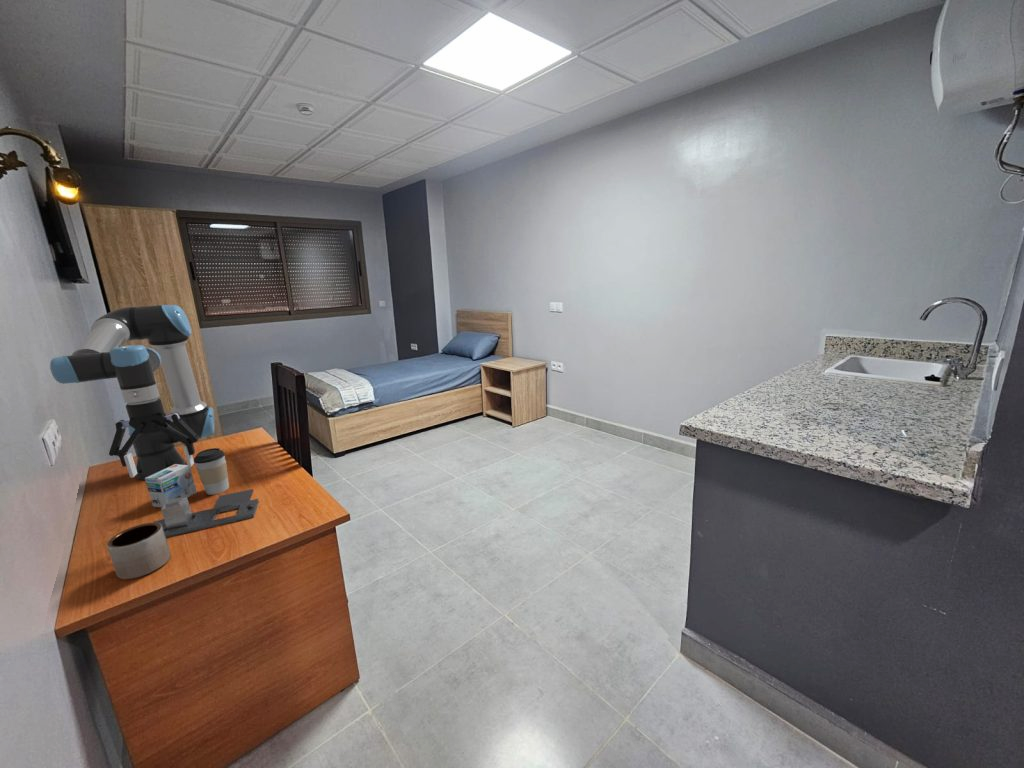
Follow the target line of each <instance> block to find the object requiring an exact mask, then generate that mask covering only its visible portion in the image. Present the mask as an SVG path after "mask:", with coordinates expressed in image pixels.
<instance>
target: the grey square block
mask: <svg viewBox="0 0 1024 768" xmlns="http://www.w3.org/2000/svg"><path fill="white" fill-rule="evenodd" d="M160 510H161V515H162V517H163V519H164V521H165V524H166V528H167V531H168V530H173V529H177V528H181V527H186V526H190V524H191V523H192V521H193V517H192V513H193V512H192V509H191V506H190V502H189V499H188V498H187V497H186V498H182V497H179V498H174V499H170V500H168V501H167V502H166V503H165V505H164V506H163V507H161V508H160Z"/></svg>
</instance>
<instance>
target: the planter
mask: <svg viewBox="0 0 1024 768" xmlns="http://www.w3.org/2000/svg"><path fill="white" fill-rule="evenodd" d="M106 548H107V550H108V554H109V556H110V559H111V563H112V565H113V569H114V571H115V574H116V576H117V578H119V579H120V580H131V579H138V578H141V577H144V576H148V575H149V574H152V573H153V572H155V571H157V570H159V569H161V568H162V567H163V566H164V565H166V563H167V562H168V561H169V560H170V558H171V557H172V556H171V555H172V554H171V549H170V546H169V543H168V540H167V537H165V534H164V531H163V528H162V525H161V524H159V523H153V522H146V523H142V524H137V525H135V526H132V527H129V528H127V529H124V530H123V531H120V532H118V533H117V534H115V535H113V536H112V537H111V538H110V539H109V540H107V543H106Z"/></svg>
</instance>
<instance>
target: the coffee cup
mask: <svg viewBox="0 0 1024 768" xmlns="http://www.w3.org/2000/svg"><path fill="white" fill-rule="evenodd" d="M225 455H226V453H225V451H223V450H222V449H221V448H218V447H216V448H214V447H213V448H208V449H207V448H206V449H204V450H201V451H199V452H198V453H196V455H195V456H194V457H193V460H194V465H195V469H196V472H197V475H198V477H199V479H200V481H201V483H202V486H203V488H204V490H205V493H206V494H207V495H209V496H210V495H218V494H221V493H224V492H226V491H227V490H228V489H229V488H230V484H229V475H228V474H229V473H228V468H227V467H228V466H227V460H226V456H225Z"/></svg>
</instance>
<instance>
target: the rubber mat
mask: <svg viewBox="0 0 1024 768" xmlns="http://www.w3.org/2000/svg"><path fill="white" fill-rule="evenodd" d="M253 493H254V488H251V489H246V490H240V491H236V492H231V493H227V494H226V493H225V494H222V495H219V496H218V498H217V500H216V502H215V504H214V506H213V508H217V507H222V506H227V505H231V504H236V503H240V502H245V501H250V500H251V498H252V495H253Z"/></svg>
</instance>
